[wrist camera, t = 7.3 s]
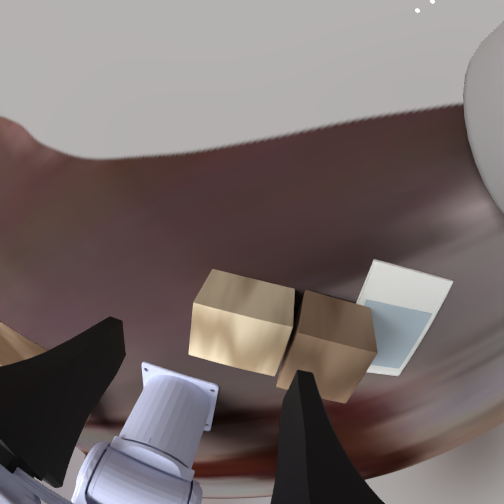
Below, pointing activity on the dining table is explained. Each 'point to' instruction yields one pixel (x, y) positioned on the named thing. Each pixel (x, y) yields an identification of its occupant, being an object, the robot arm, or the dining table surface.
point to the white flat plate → (400, 311)
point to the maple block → (242, 322)
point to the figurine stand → (16, 347)
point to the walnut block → (330, 345)
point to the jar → (487, 111)
